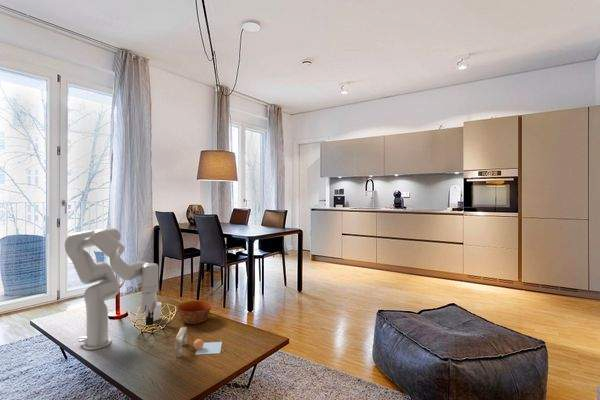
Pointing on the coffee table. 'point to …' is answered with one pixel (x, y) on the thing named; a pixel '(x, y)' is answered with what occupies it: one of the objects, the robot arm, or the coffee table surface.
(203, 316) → the bowl
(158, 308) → the white cup
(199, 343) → the ball
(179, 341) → the bridge
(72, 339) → the coffee table surface
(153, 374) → the coffee table surface
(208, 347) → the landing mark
